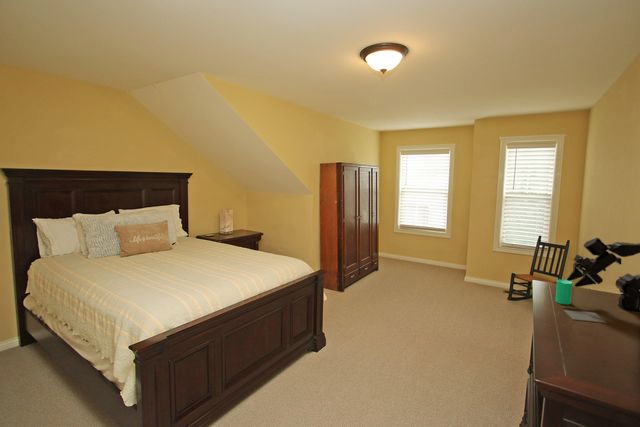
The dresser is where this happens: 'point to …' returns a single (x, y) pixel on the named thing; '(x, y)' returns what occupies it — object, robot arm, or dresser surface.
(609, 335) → the dresser surface
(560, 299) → the candle
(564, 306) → the line strip
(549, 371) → the dresser surface
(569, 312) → the mat
